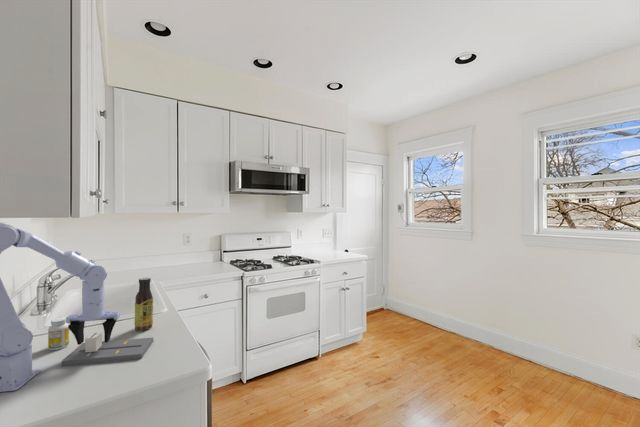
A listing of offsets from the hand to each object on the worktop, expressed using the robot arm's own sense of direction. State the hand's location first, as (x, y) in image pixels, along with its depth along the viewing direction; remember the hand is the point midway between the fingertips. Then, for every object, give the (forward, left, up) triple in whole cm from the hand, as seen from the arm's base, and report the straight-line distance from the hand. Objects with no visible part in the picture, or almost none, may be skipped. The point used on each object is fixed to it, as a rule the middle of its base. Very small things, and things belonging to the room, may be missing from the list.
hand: (94, 342), depth 98 cm
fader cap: (0, 0, -2) cm, 2 cm away
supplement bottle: (+8, +14, -4) cm, 17 cm away
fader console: (0, -5, -4) cm, 6 cm away
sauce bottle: (+19, -9, -4) cm, 21 cm away
